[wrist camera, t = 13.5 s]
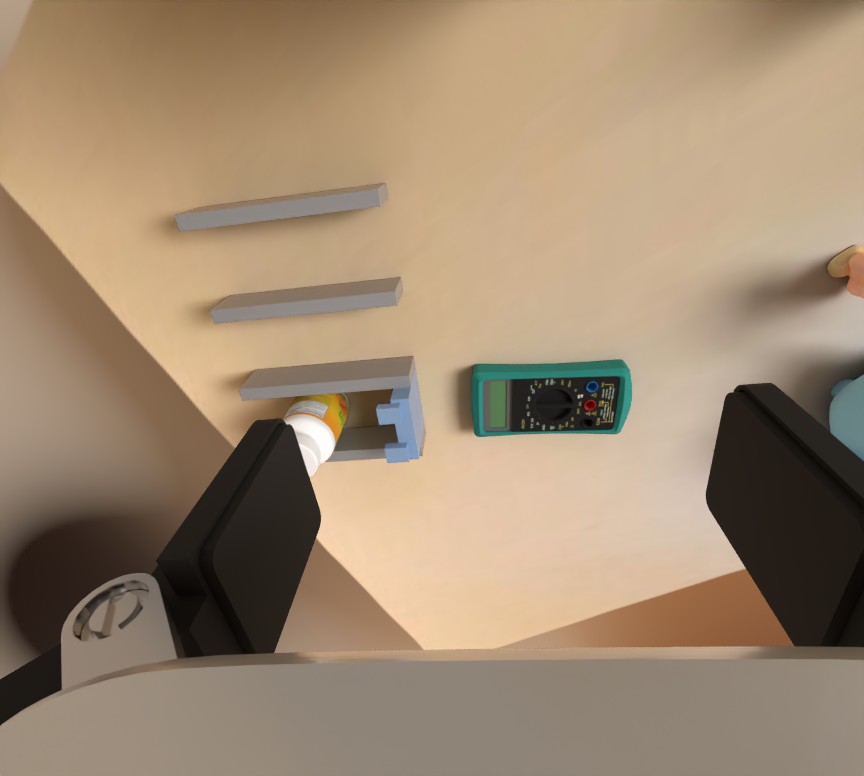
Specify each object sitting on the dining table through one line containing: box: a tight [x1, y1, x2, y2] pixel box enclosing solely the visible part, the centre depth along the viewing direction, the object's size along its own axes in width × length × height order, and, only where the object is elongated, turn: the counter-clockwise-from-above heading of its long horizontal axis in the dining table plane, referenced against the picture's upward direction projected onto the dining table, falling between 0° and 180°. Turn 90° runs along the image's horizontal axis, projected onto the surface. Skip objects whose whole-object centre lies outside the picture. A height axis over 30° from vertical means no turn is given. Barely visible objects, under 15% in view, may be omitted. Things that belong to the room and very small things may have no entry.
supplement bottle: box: [283, 393, 350, 477], centre depth 44 cm, size 5×5×10 cm
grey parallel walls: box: [174, 183, 426, 463], centre depth 42 cm, size 24×16×7 cm, turn 7°
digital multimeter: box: [472, 360, 632, 437], centre depth 46 cm, size 7×15×3 cm, turn 94°
